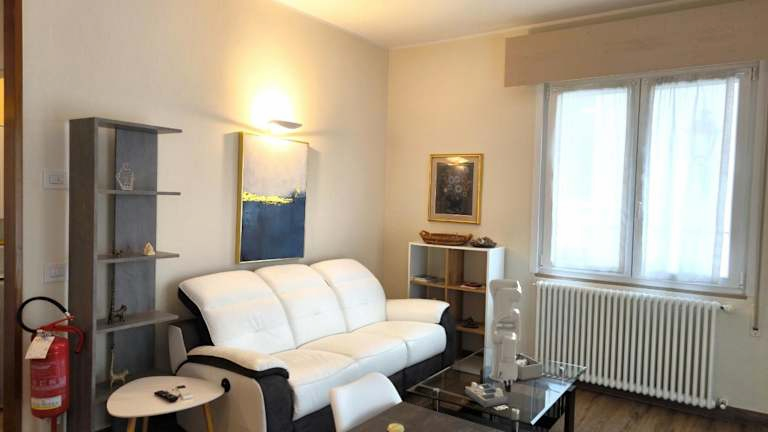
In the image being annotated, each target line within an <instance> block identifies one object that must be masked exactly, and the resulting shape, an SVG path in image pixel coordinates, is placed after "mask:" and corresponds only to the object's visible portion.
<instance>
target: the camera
mask: <svg viewBox="0 0 768 432" xmlns="http://www.w3.org/2000/svg"><path fill="white" fill-rule="evenodd" d="M520 353H521V354H520V356H521V357H519V358H518V360H517V361H516V362H517V364H519V365H521V366H528V360H527V358H524V357H523V356H522V354H524V353H523V352H520Z"/></svg>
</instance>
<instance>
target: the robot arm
mask: <svg viewBox="0 0 768 432" xmlns="http://www.w3.org/2000/svg"><path fill="white" fill-rule="evenodd" d="M488 286H489V292H490V296H491V298H492V307H493V308H492V313H493V314H492V316H493V317H492V318H493V320H492V321H491V324H490V341H491V373H489V375H488V377H489V379H490V380H492V381H495V382H499V383H502V384H504V392H506V393H512V385H513V383H514V382H516V380H517V379H518V378H517V376H518V369H517V362H516V358H517V356H516V353H517V344H518V343H519V342H521V338H522V336H521V335H522V332H521V331H522V330H521V329H522V328H521V326H522V325H521V324H522V323H521V313H520V310H519V309H517V308H515V307H513V303H521V302H522V300H523V292H522V288H521V285H520V283H519V280H517V279H509V278H508V279H504V278H501V279H499V278H498V279H497V278H496V279H491V280H490V281H489V283H488ZM498 324H499V325H500V326H499V325H498ZM501 325H504V326H501ZM505 325H511V326H505Z"/></svg>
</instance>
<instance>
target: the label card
mask: <svg viewBox="0 0 768 432" xmlns="http://www.w3.org/2000/svg"><path fill="white" fill-rule="evenodd" d="M506 408H507V409H509V407H508V406H507V405H505V404H501V405H496V406H493V409H495V410H496V411H503V410H506Z"/></svg>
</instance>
